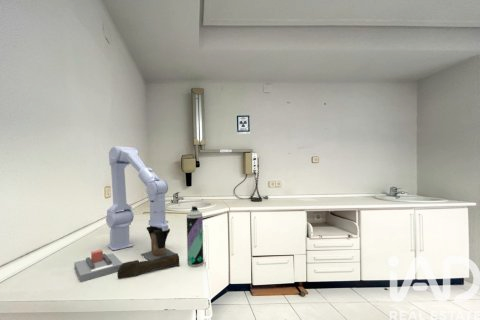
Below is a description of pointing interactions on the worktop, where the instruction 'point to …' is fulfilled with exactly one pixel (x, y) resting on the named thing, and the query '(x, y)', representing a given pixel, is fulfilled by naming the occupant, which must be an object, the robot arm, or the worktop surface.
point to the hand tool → (146, 266)
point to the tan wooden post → (156, 246)
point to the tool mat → (150, 256)
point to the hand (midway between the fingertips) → (158, 246)
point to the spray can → (194, 237)
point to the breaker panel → (97, 267)
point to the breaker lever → (97, 256)
